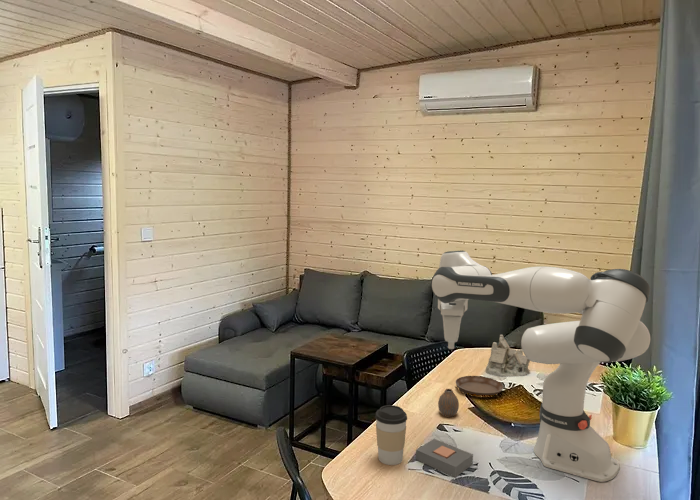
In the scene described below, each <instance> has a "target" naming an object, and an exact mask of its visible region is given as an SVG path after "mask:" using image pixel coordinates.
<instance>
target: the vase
mask: <svg viewBox="0 0 700 500" xmlns="http://www.w3.org/2000/svg"><path fill="white" fill-rule="evenodd" d="M437 406H438V410H439V412H440V414H441V415H442V416H444V417H446V418H452V417H454V416H455V415H456V414H458V411H459V408H460V407H459V406H460V403H459V399H458V397H457V396H456V394H455V392H454V390H453V389H451V388H446V389H445V390H444V391H443V393H441V395H440V396H439V398H438V405H437Z"/></svg>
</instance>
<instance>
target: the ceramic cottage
mask: <svg viewBox="0 0 700 500" xmlns="http://www.w3.org/2000/svg"><path fill="white" fill-rule="evenodd" d="M498 342H499V343H498ZM498 342H495V341H494V342H492V345H491V348H490V356H489V358H488V363H487V365H486V367H485V373H486V374H488V375H491V376H495V377H501V378H503V377H505V378H508V377H509V378H511V377H526V376H528V374H530V370H529V366H530V363H531V361H530V360H529V359H528V358H527V357H526V356H525V355H524V353H523V350H522V348H520V349H518V348H517V349H515V348H510V346H509V343H508V342H507V340H506V339H505V338H504V335H503V334H499V339H498Z"/></svg>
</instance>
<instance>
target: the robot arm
mask: <svg viewBox="0 0 700 500" xmlns="http://www.w3.org/2000/svg"><path fill="white" fill-rule="evenodd" d="M439 260H440V261H439V267H438V268H437V270H436V271H435V272H434V274H433V276H432V278H431V283H430V287H431V291H432V293H433V295H434V296H435V297H436V298H437V309H438V310H439V311H440V315H441V316H442V324H443V325H442V326H443V336H444V337H443V338H444V341H445V342H447V345H448V346H447V348H448V349H449V350H454V349H455V343H457V342H458V340H459V335H460V328H461V323H462V318H463V316H464V314H465V312H466V311H468V308H469V307H468V303H469V300H475V301H476V300H477V301H487V302H493V303H497V304H502V305H507V306H512V307H518V308H521V309H525V310H528V311H529V310H530V311H534V312H540V313H548V314H561V315H562V314H576V313H577V314H581V318H580V320H570V321H563V322H555V323H547V324H542V325H536V326H532V327H528V328H527V329H526V330H524V332H523V334H522V336H521V342H520V343H521V344H520V345H521V349H522V350H523V355H524V356H526V357H527V358H528V359H529V360H530V362H532V363H537V364H544V365H558V366H557V368H556V369H554V370H553V371H552V372H551V373H549V374H547V376H545V378H544V379H543V384H542V386H543V387H542V401H541V404H540V407H539V424H540V425H539V429H538V434H537V438H536V440H535V444H534V446H533V452H534V454H535V456H537V458H539V460H540V461H541V462H542V465H543V467H546V468H549V469H553V470H555V471H560V472H563V473H566V474H570V475H574V476H577V477H581V478H585V479H588V480H592V481H595V482H597V483H598V482H600V483H605V482H608V481H611V480H612V479H614V478H615V477H616V476H617V475H618V474H619V472H620V463H619V462H618V459H617V458H616V459H615V458H614V457H612V456H611V448H610V445H609V443H608V441H606V440H605V439H604V438H603V437H602V436H601V435H600V434H599V433H598V432H597V431H596V430H595V429H594V428H593V427H592V426H591V421H592V418H593V417H592V414H590V415H589V416H588V414H587V413H586V412H585V410H584V407H585V398H586V397H585V396H586V389H587V386H588V382H589V380H590V378H591V376H592V374H593V372H594V371H595V370H596V368H597V367H598V366H599V364H601V363H605V364H607V363H608V364H609V363H612V362H613V363H614V362H622V361H623V362H624V361H627V360H631V359H634V358H638V357H639V356H642V355H643V354H644V353H646V352H647V351H648V349H649V347H650V343H651V334H650V330H649V329H648V327H647V326H646V325H645V323H643V321H641V318H642V316H643V312H644V309H645V306H646V303H647V302H648V301H649V297H650V289H651V288H650V284H649V282H648V281H647V280H646V279H645V278H644V277H643V276H641V275H640V274H639V273H636V272H634V271H632V270H629V269H624V268H611V269H607V270H604V271H598V272H595V273H593V274H592V275H591V276H590V278H588V276H586V275H585V274H583V273H582V272H579V271H575V270H573V269H567V268H563V267H562V268H561V267H555V266H547V265H546V266H545V265H544V266H538V265H537V266H530V267H529V266H528V267H524V268H520V269H515V270H509V271H506V272H500V273H495V274H493V273H492V271H491V269H489V268H488V267H487V266H485V265H481V264H480V263H478V262H477V261H475V260H474V259H473V258H472V257H471V256H470V254H469V253H468V251H466V250H451V251H449V250H448V251H445V252H444V253H442V254H441V257H440V259H439Z"/></svg>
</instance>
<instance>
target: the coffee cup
mask: <svg viewBox="0 0 700 500" xmlns="http://www.w3.org/2000/svg"><path fill="white" fill-rule="evenodd" d="M375 420H376V423H375V432H376V444H377V445H376V446H377V454H378V455H377V456H378V460H379V462H380V463H382V464H384V465H387V466H388V465H389V466H396V465H399V464H401V463H403V457H404V448H405V443H406V434H407V433H406V432H407V431H406V430H407V420H408V415H407V413H406V411H404V409H403V408H402V407H400V406H398V405H392V404H390V405H389V404H387V405H383V406H380V408H378V409H377V410H376V411H375Z"/></svg>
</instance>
